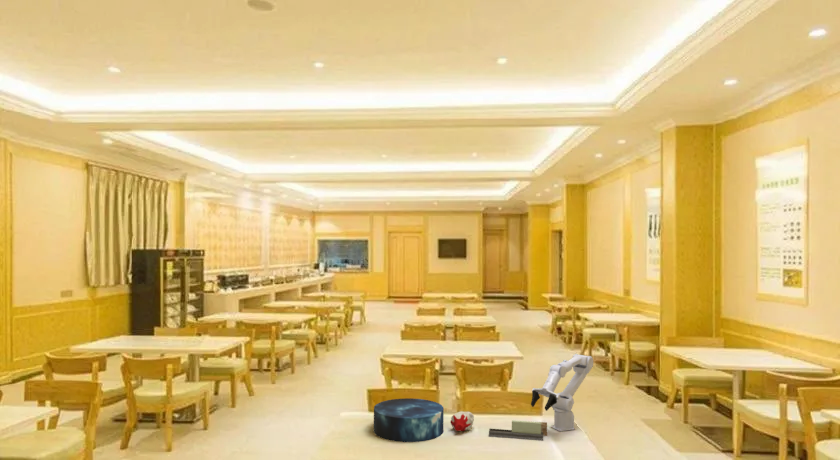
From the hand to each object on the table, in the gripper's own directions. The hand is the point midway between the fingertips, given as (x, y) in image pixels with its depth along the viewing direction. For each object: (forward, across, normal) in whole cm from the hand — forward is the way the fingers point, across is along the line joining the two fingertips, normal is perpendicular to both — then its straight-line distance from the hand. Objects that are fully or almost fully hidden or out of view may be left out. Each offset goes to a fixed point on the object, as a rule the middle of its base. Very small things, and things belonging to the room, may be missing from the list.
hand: (538, 407), depth 279 cm
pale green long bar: (+11, -4, +8) cm, 14 cm away
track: (+14, -8, +7) cm, 18 cm away
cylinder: (+39, -52, -11) cm, 66 cm away
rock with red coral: (+25, -33, 0) cm, 41 cm away
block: (+5, -1, +15) cm, 16 cm away
